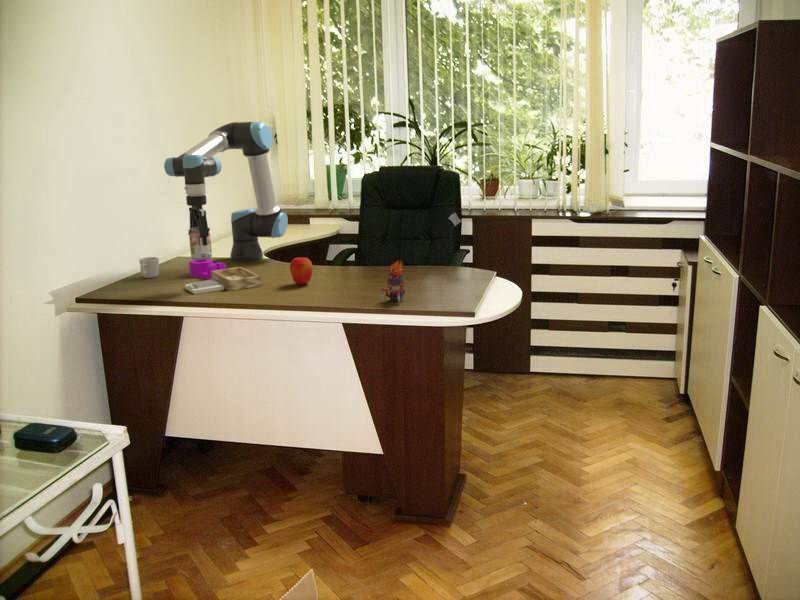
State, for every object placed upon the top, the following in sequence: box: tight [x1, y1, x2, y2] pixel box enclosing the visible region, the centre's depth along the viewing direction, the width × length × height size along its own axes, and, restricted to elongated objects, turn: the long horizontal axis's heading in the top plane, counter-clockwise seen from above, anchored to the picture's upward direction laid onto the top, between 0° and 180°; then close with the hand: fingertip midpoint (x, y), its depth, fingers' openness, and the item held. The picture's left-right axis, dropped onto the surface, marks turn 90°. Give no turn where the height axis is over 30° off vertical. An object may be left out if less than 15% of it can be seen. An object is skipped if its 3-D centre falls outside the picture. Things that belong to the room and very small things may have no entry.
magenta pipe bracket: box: [188, 258, 227, 280], centre depth 338 cm, size 16×10×6 cm, turn 53°
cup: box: [139, 256, 160, 279], centre depth 337 cm, size 11×8×8 cm
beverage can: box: [187, 227, 213, 260], centre depth 310 cm, size 9×8×12 cm
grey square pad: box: [190, 279, 217, 289], centre depth 315 cm, size 8×8×1 cm
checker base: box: [184, 281, 225, 295], centre depth 315 cm, size 12×12×2 cm
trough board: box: [211, 266, 263, 292], centre depth 323 cm, size 14×22×4 cm, turn 31°
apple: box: [289, 255, 314, 286], centre depth 317 cm, size 9×9×12 cm
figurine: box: [378, 261, 406, 302], centre depth 287 cm, size 8×9×15 cm
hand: (201, 251), depth 311 cm, fingers closed on beverage can, 9 cm apart
